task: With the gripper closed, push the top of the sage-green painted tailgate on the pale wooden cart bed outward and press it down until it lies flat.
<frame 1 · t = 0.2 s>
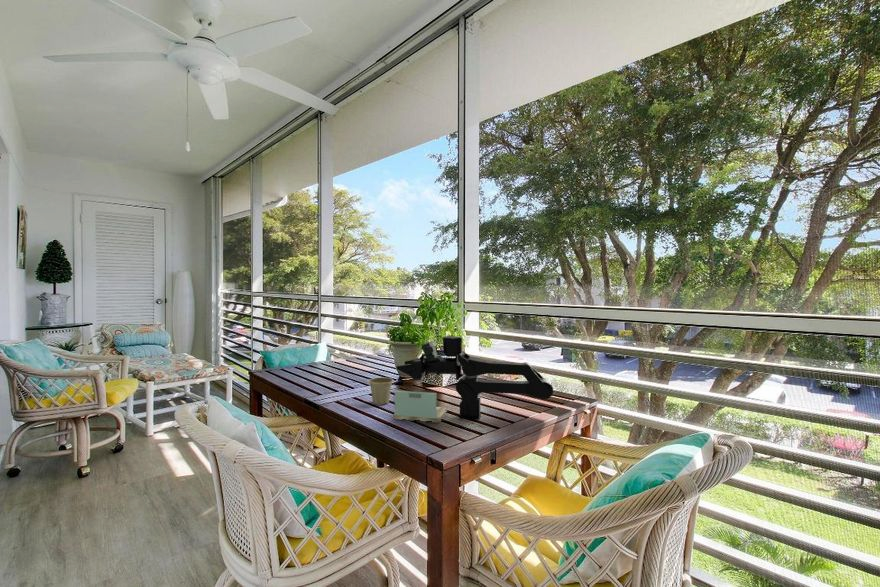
hand: (400, 365, 151), 16 cm above the table, tool horizontal, fingers open, 9 cm apart
tailgate: (415, 404, 139), point 6 cm above the table, hinge at 0.0°
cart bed: (421, 415, 146), on the table
flower pot: (380, 403, 161), on the table
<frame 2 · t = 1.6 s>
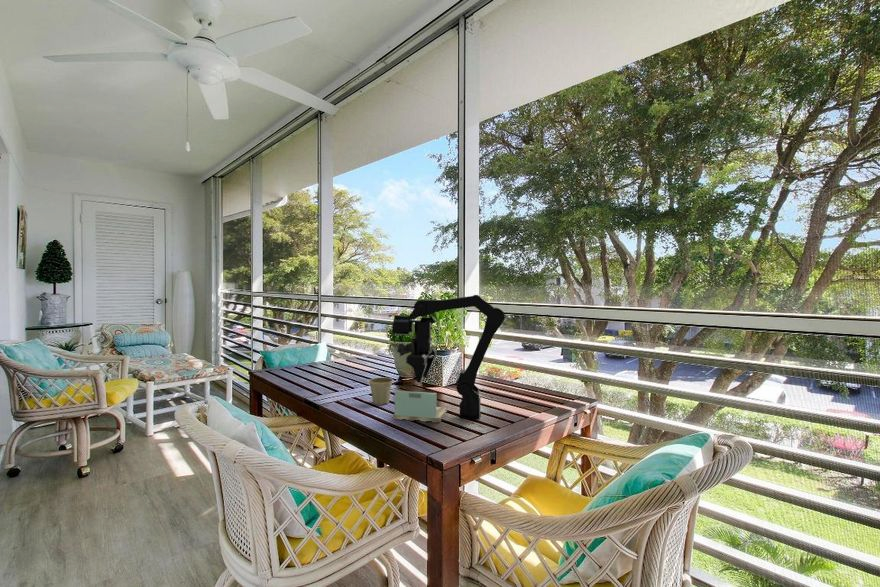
hand: (421, 379, 147), 12 cm above the table, tool pointing down, fingers open, 8 cm apart
nothing on the table moved.
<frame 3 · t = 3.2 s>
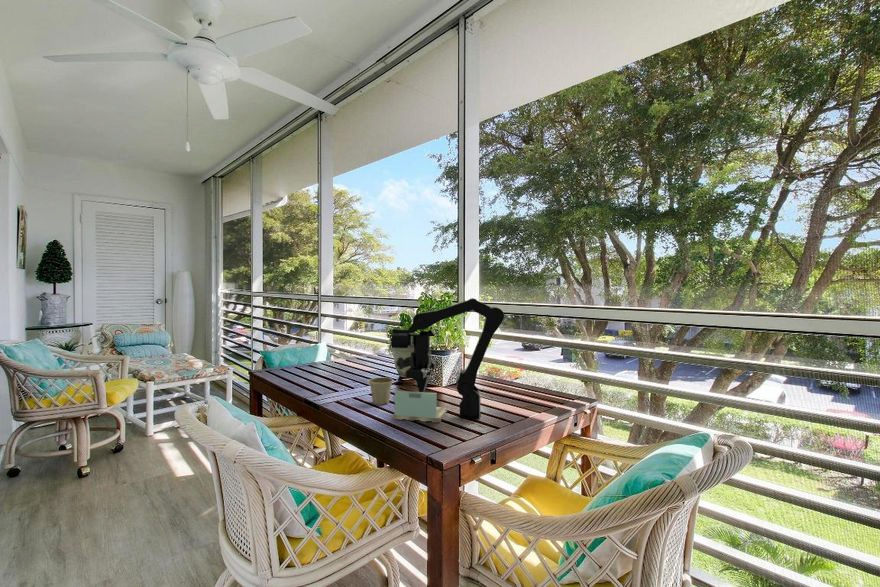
hand: (421, 393, 146), 8 cm above the table, tool pointing down, fingers closed
nothing on the table moved.
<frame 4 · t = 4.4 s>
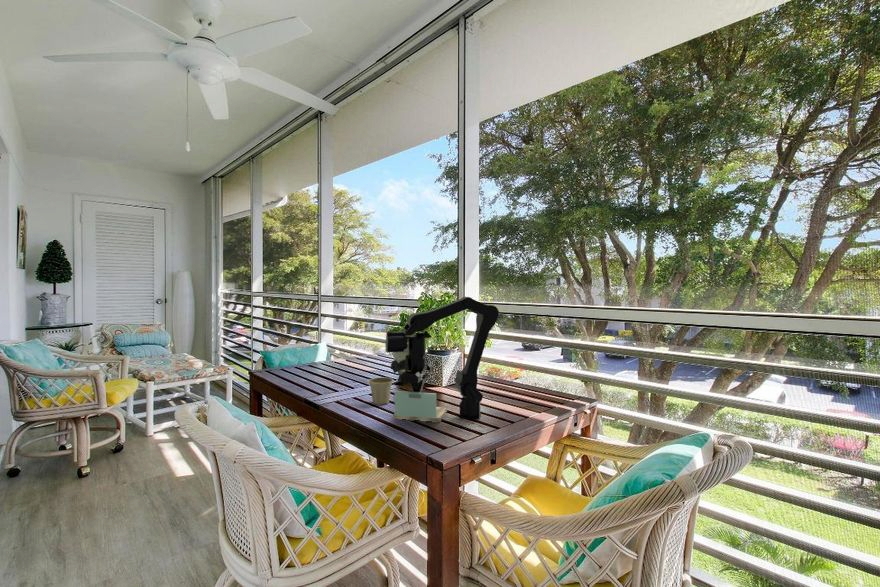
hand: (416, 397, 141), 8 cm above the table, tool pointing down, fingers closed
tailgate: (415, 404, 139), point 6 cm above the table, hinge at 2.1°, touching gripper
everything else where it was.
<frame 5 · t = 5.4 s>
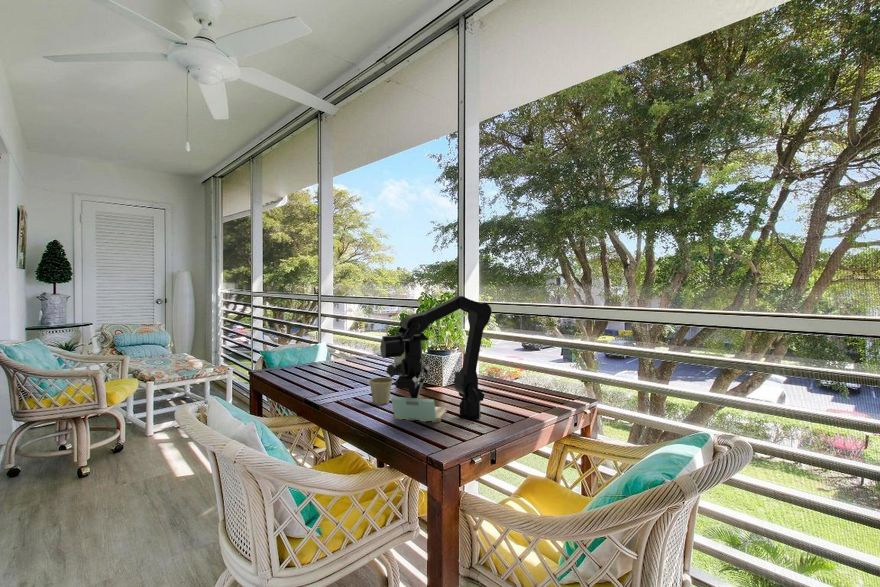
hand: (414, 401, 137), 7 cm above the table, tool pointing down, fingers closed, pressing on tailgate
tailgate: (413, 408, 138), point 5 cm above the table, hinge at 28.2°, touching gripper
everything else where it was.
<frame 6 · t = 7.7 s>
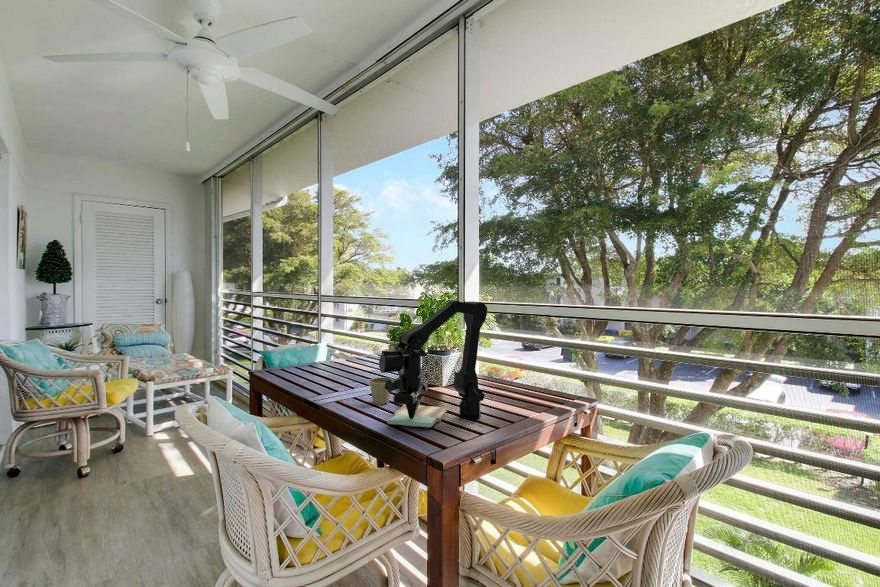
hand: (411, 418, 135), 2 cm above the table, tool pointing down, fingers closed
tailgate: (412, 421, 136), point 1 cm above the table, hinge at 84.3°
everything else where it was.
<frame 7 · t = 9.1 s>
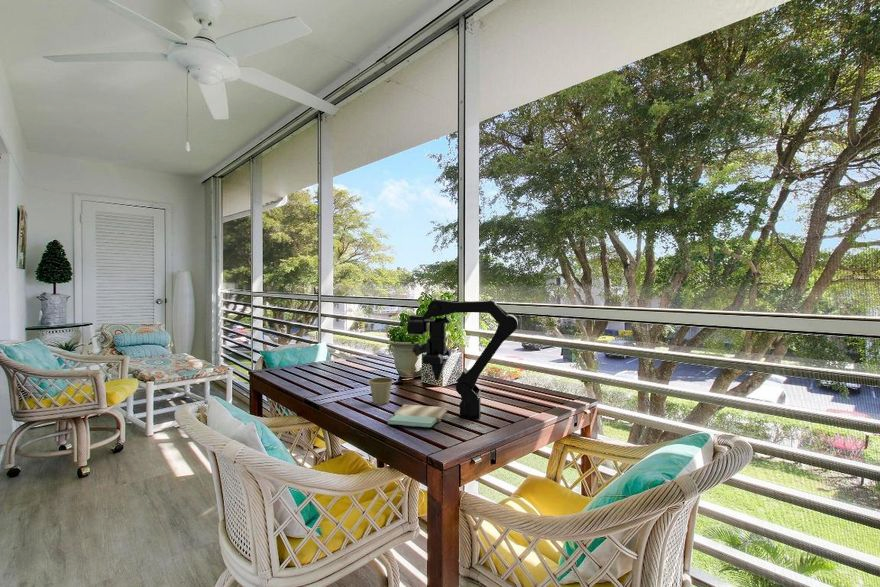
hand: (437, 379, 148), 12 cm above the table, tool pointing down, fingers closed
nothing on the table moved.
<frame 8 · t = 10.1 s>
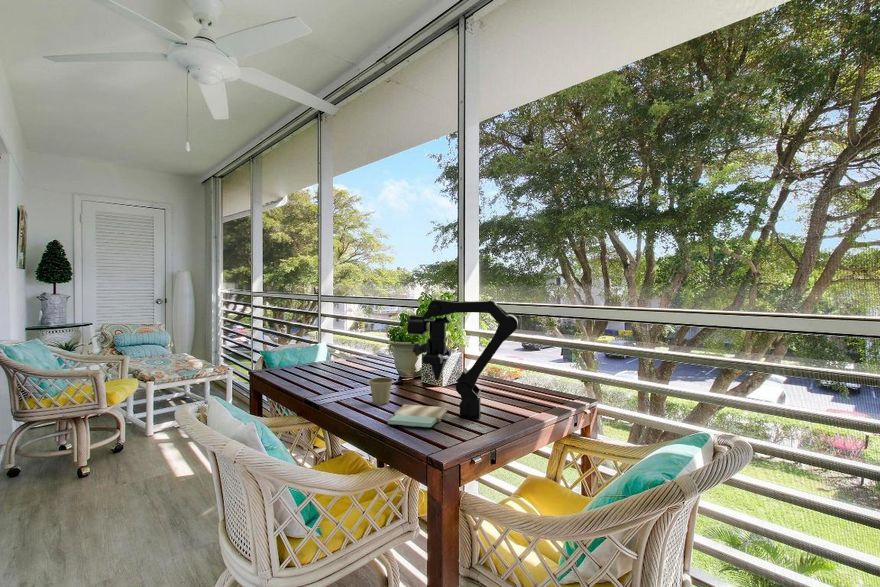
hand: (437, 379, 148), 12 cm above the table, tool pointing down, fingers closed
nothing on the table moved.
at the end: tailgate at +84° (first picture: +0°); flower pot moved 0.2 cm from its start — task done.
